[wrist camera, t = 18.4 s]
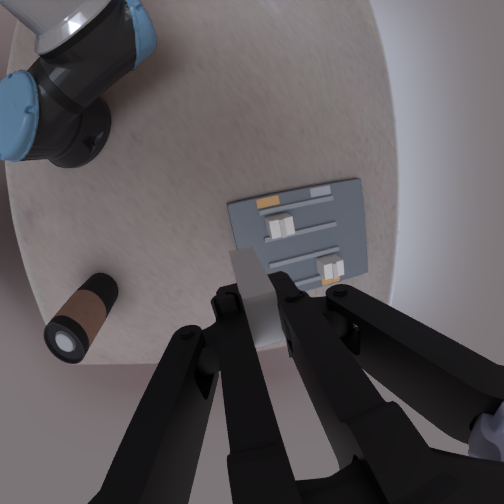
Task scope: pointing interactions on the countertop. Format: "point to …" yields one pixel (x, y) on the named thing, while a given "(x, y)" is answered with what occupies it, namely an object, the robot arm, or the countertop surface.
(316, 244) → the switch board
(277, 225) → the tab
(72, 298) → the travel mug
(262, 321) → the robot arm
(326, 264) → the tab
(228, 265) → the countertop surface
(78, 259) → the countertop surface
